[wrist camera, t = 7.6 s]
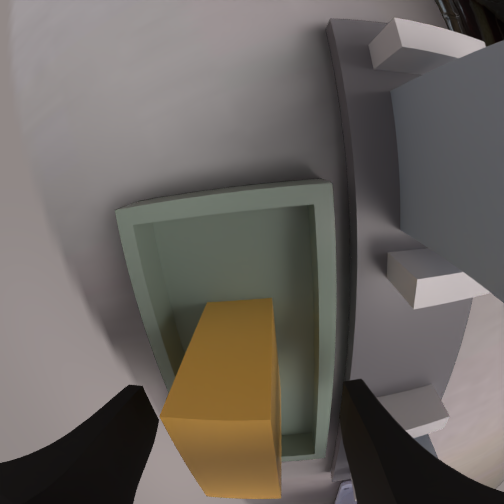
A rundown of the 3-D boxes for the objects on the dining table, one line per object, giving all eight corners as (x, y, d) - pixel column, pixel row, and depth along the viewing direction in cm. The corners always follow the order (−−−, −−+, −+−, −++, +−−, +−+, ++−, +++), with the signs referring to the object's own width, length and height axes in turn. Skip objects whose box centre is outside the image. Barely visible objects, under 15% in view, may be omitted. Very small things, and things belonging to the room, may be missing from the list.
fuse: (454, 225, 9) (565, 286, 3) (400, 229, 9) (509, 307, 4) (448, 97, 8) (566, 75, 2) (390, 91, 8) (504, 39, 2)
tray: (321, 431, 14) (325, 457, 12) (205, 435, 15) (200, 460, 13) (321, 178, 10) (332, 182, 8) (139, 201, 11) (114, 210, 9)
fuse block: (405, 456, 15) (415, 489, 12) (330, 471, 16) (335, 509, 13) (451, 46, 8) (496, 24, 4) (325, 29, 8) (345, -16, 5)
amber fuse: (280, 388, 13) (281, 498, 7) (227, 390, 13) (206, 496, 7) (272, 297, 11) (270, 419, 5) (206, 302, 11) (159, 416, 6)
